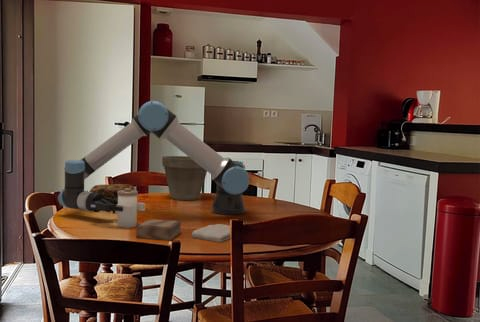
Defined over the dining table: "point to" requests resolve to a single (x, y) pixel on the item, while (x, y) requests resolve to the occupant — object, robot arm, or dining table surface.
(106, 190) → the bread
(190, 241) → the dining table surface
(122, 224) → the canister
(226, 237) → the washcloth
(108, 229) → the dining table surface
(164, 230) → the base block
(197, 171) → the plant pot
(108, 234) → the dining table surface
